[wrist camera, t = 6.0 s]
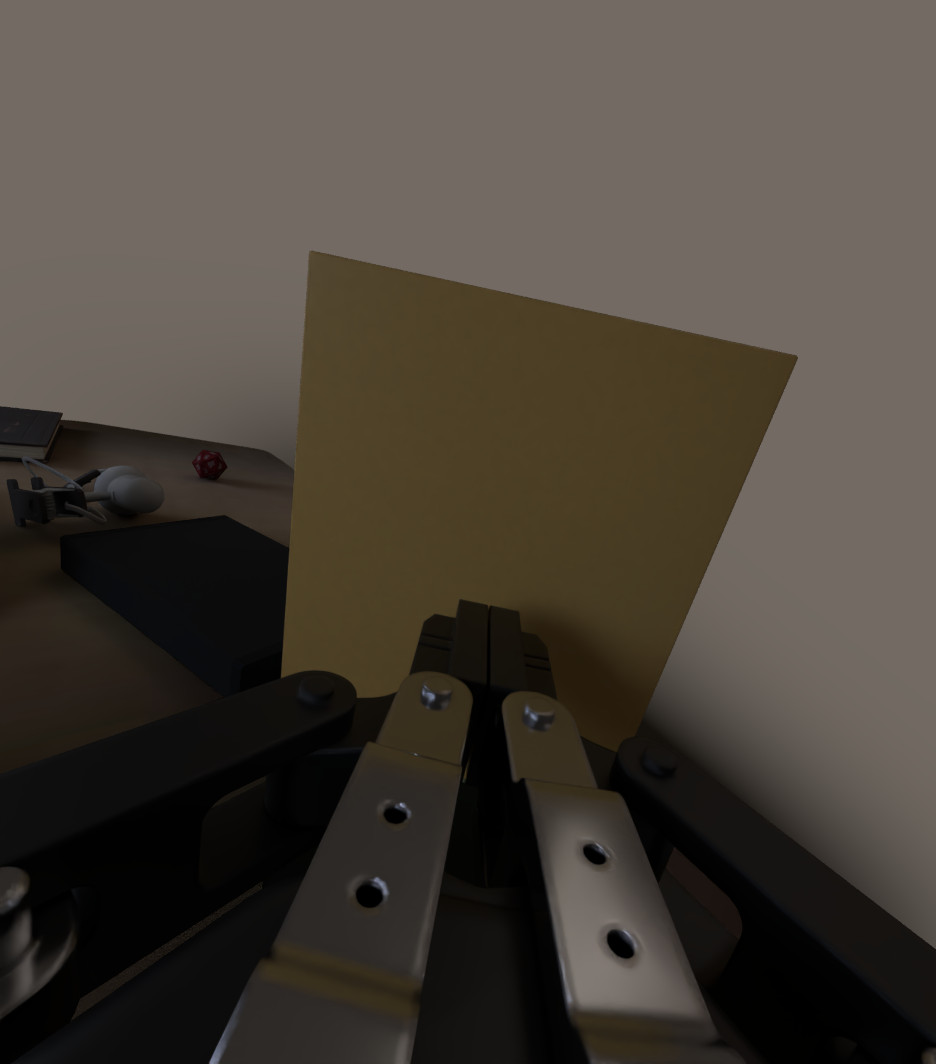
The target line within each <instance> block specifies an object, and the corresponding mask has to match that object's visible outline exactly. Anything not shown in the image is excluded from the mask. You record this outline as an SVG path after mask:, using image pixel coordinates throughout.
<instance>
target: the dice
mask: <svg viewBox="0 0 936 1064" xmlns="http://www.w3.org/2000/svg"><path fill="white" fill-rule="evenodd" d="M192 464H193V465H194V467H195V469H196V471H197V473H198V474H199V476H200V477H202V478H209V479H216V480H217V479H218V478H219V477H220V475H221V474H222V473H223V472H224V471H225V469H226V468H227V465H226V464H225V462H224V460H223V458H222V456H221V455H220V453H218V452H212V451H207V450H202V451H201V452H200V454H199V455H198V456H197V457H196V458H195V460H194V461H193V462H192Z"/></svg>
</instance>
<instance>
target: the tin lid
mask: <svg viewBox="0 0 936 1064" xmlns="http://www.w3.org/2000/svg"><path fill="white" fill-rule="evenodd" d="M797 359H798V357H797V356H796V355H791V354H787V353H782V352H778V351H773V350H768V349H764V348H759V347H755V346H750V345H745V344H741V343H736V342H731V341H727V340H722V339H718V338H713V337H708V336H704V335H699V334H694V333H690V332H685V331H681V330H676V329H671V328H667V327H662V326H657V325H653V324H648V323H643V322H639V321H634V320H630V319H625V318H621V317H616V316H611V315H607V314H602V313H597V312H593V311H588V310H584V309H579V308H574V307H569V306H565V305H560V304H556V303H551V302H547V301H542V300H537V299H532V298H528V297H523V296H518V295H514V294H510V293H505V292H500V291H496V290H491V289H486V288H482V287H477V286H473V285H468V284H463V283H459V282H454V281H450V280H445V279H440V278H436V277H431V276H426V275H421V274H417V273H412V272H408V271H403V270H398V269H394V268H389V267H385V266H380V265H376V264H371V263H366V262H362V261H357V260H352V259H348V258H343V257H339V256H334V255H329V254H324V253H320V252H315V251H310V252H309V260H308V276H307V291H306V306H305V321H304V336H303V352H302V366H301V382H300V397H299V414H298V428H297V443H296V458H295V459H296V460H295V473H294V488H293V503H292V518H291V534H290V549H289V564H288V579H287V594H286V610H285V625H284V640H283V655H282V670H281V678H283V677H286V676H288V675H291V674H294V673H298V672H302V671H310V670H321V671H328V672H332V673H335V674H338V675H340V676H342V677H344V678H346V679H347V680H349V681H350V682H351V683H352V684H353V686H354V687H355V689H356V692H357V698H372V697H381V696H386V695H390V694H392V693H395V692H397V691H398V689H399V687H400V684H401V683H402V681H403V680H404V679H405V678H406V677H408V676H409V673H410V670H411V666H412V662H413V659H414V655H415V652H416V648H417V644H418V641H419V637H420V634H421V630H422V626H423V623H424V621H425V620H427V619H428V618H429V617H431V616H432V615H434V614H440V615H444V616H449V617H454V618H455V617H456V612H457V607H458V603H459V599H463V600H468V601H472V602H477V603H482V604H487V605H488V609H489V607H490V605H492V606H497V607H502V608H507V609H511V610H516V611H519V614H520V623H521V631H522V632H527V633H532V634H537V636H538V637H539V638H540V639H541V640H542V641H543V643H544V644H545V645H546V646H547V649H548V654H549V661H550V664H551V672H552V674H553V679H554V684H555V689H556V694H557V699H558V702H560V703H561V704H562V705H564V706H565V707H566V708H567V709H568V710H569V711H570V713H571V714H572V716H573V718H574V720H575V723H576V726H577V729H578V732H579V735H581V736H582V737H584V738H586V739H588V740H589V741H592V742H594V743H596V744H598V745H601V746H603V747H605V748H608V749H610V750H612V751H615V752H617V751H618V748H619V745H620V743H621V742H622V741H623V740H625V739H627V738H630V737H635V734H636V732H637V730H638V727H639V725H640V722H641V720H642V718H643V716H644V713H645V711H646V708H647V706H648V704H649V702H650V700H651V697H652V695H653V693H654V690H655V688H656V686H657V683H658V681H659V679H660V676H661V674H662V672H663V669H664V667H665V665H666V662H667V660H668V658H669V656H670V653H671V651H672V648H673V646H674V644H675V641H676V639H677V637H678V635H679V632H680V630H681V628H682V625H683V623H684V621H685V618H686V616H687V614H688V611H689V609H690V607H691V604H692V602H693V600H694V598H695V595H696V593H697V591H698V588H699V586H700V584H701V581H702V579H703V577H704V574H705V572H706V570H707V567H708V565H709V563H710V561H711V558H712V556H713V554H714V551H715V549H716V547H717V544H718V542H719V540H720V537H721V535H722V533H723V530H724V528H725V526H726V524H727V521H728V519H729V516H730V514H731V512H732V509H733V507H734V505H735V503H736V500H737V498H738V496H739V493H740V491H741V489H742V486H743V484H744V482H745V480H746V477H747V475H748V473H749V470H750V468H751V466H752V463H753V461H754V459H755V456H756V454H757V452H758V449H759V447H760V445H761V442H762V440H763V438H764V435H765V433H766V431H767V429H768V426H769V424H770V422H771V419H772V417H773V415H774V412H775V410H776V408H777V405H778V403H779V401H780V398H781V396H782V394H783V391H784V389H785V387H786V385H787V382H788V380H789V378H790V375H791V373H792V371H793V368H794V366H795V364H796V361H797ZM463 779H466V770H465V774H464V778H463Z"/></svg>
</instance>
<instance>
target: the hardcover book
mask: <svg viewBox="0 0 936 1064" xmlns="http://www.w3.org/2000/svg"><path fill="white" fill-rule="evenodd" d="M62 415H63V413H59V412H49V411H40V410H30V409H19V408H10V407H1V406H0V460H7V461H22V458H23V457H29V458H31V459H34V460H36V461H38V462H40V463H48V461H49V458H50V456H51V454H52V451H53V449H54V446H55V444H56V442H57V439H58V437H59V435H60V432H61V430H62V428H63V425H60V419H61V417H62ZM26 462H30V461H26Z"/></svg>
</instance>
